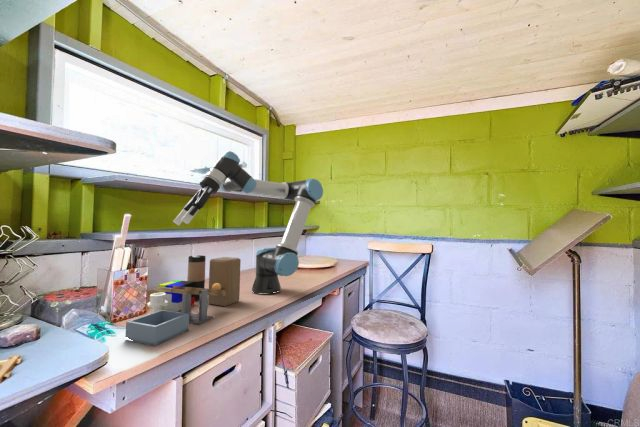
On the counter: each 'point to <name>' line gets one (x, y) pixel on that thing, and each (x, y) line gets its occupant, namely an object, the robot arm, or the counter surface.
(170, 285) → the puzzle toy
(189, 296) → the stand
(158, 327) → the tray
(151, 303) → the pipe fitting
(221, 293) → the lever
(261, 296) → the counter surface
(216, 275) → the block
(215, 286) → the ball
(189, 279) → the travel mug
